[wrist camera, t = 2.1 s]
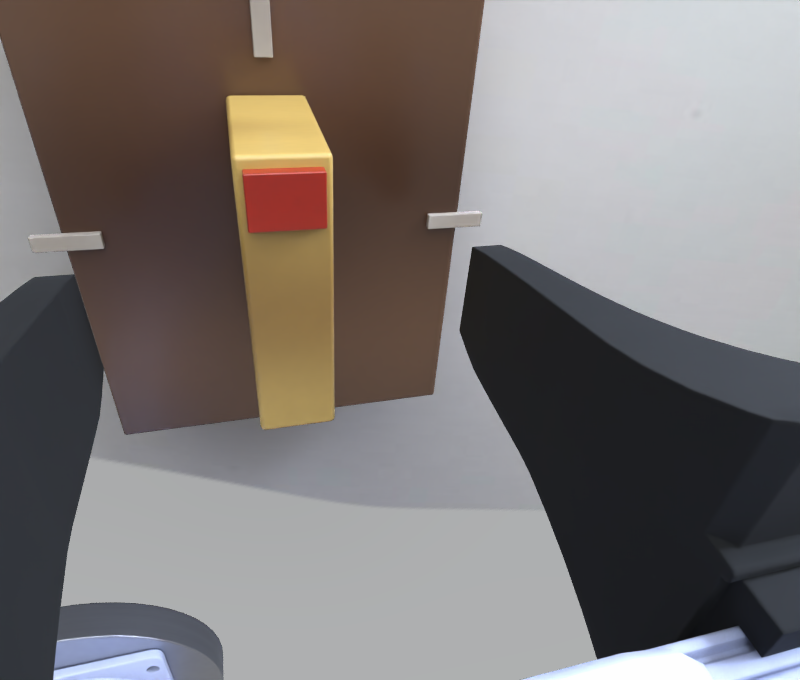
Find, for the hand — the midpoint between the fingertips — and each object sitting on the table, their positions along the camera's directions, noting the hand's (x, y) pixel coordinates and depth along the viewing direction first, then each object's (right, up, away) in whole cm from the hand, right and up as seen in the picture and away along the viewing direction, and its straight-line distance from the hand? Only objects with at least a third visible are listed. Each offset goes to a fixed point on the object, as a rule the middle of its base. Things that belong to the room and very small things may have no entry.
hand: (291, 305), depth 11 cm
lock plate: (-2, +4, +5) cm, 6 cm away
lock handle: (-1, +2, +3) cm, 3 cm away
